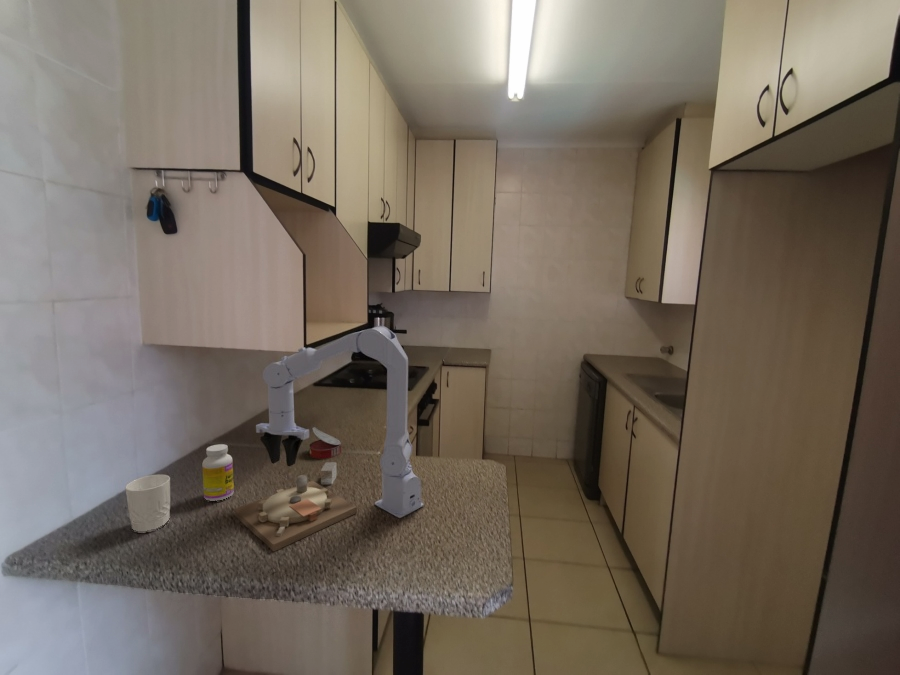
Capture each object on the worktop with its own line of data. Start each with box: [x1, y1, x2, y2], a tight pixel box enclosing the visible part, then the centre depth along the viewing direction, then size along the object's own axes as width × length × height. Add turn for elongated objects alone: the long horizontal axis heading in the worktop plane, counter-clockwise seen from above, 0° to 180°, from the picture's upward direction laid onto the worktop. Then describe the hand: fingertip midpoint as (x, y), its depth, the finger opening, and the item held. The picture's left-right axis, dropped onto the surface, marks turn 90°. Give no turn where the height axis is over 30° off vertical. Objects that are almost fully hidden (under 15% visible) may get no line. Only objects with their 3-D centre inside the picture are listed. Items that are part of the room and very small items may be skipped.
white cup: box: [124, 474, 171, 531], centre depth 91 cm, size 8×8×10 cm
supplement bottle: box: [201, 443, 235, 502], centre depth 104 cm, size 7×7×13 cm
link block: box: [320, 461, 338, 486], centre depth 114 cm, size 6×3×4 cm, turn 3°
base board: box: [233, 480, 358, 552], centre depth 97 cm, size 20×20×2 cm
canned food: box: [309, 426, 342, 460], centre depth 134 cm, size 11×10×10 cm
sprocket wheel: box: [258, 474, 332, 527], centre depth 96 cm, size 16×16×5 cm
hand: (283, 463), depth 102 cm, fingers open, 4 cm apart
